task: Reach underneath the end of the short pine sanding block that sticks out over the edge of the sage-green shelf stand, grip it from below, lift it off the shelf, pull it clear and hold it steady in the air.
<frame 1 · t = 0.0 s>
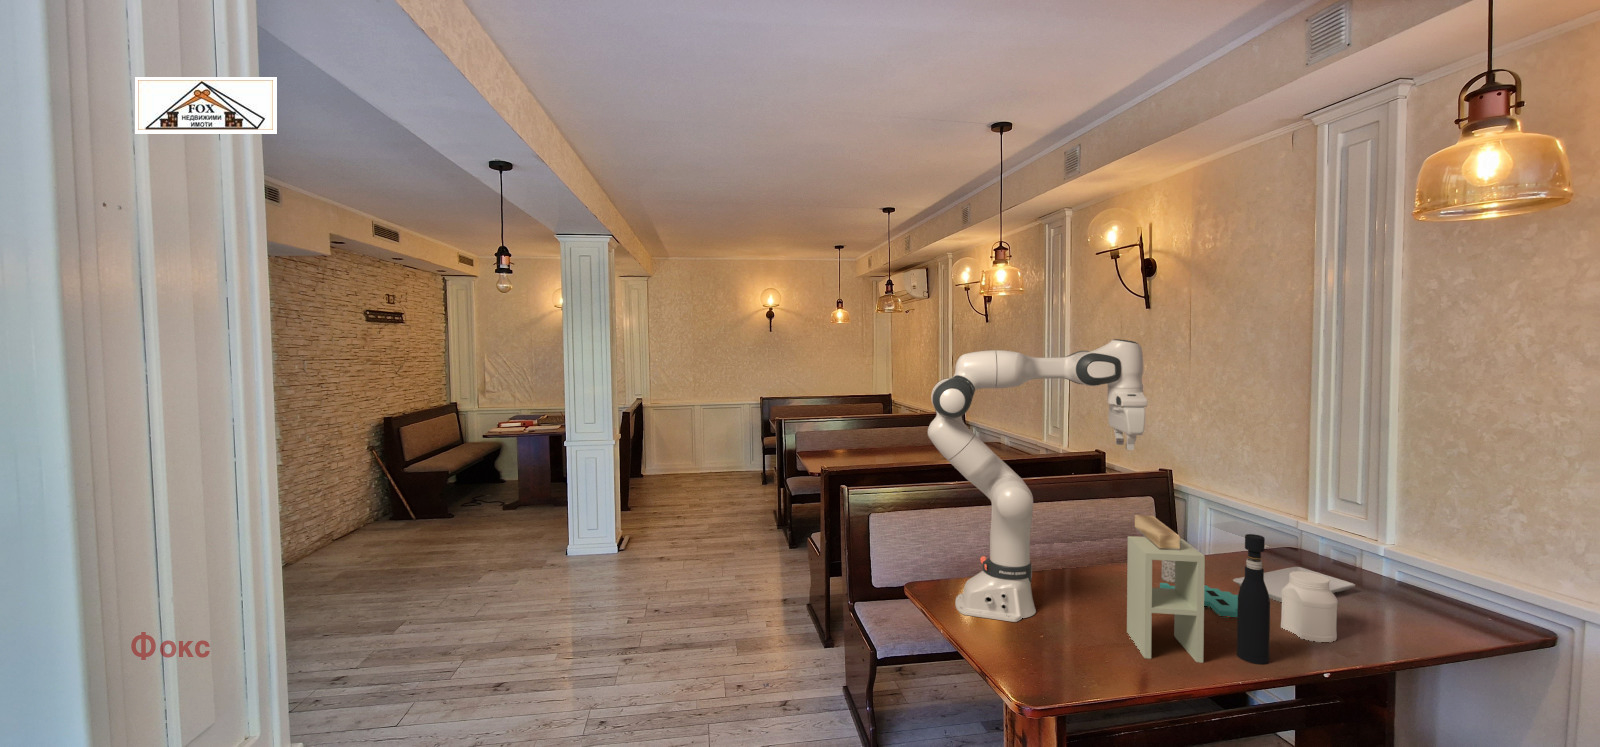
hand: (1124, 447, 177), 48 cm above the table, tool pointing down, fingers open, 8 cm apart
jar: (1308, 633, 168), on the table
wine bottle: (1252, 658, 155), on the table
alien figure: (1208, 605, 188), on the table
tray: (1293, 592, 196), on the table
grey speckled cup: (1172, 578, 208), on the table
sanding block: (1155, 538, 166), point 26 cm above the table, touching shelf stand
shelf stand: (1163, 647, 161), on the table
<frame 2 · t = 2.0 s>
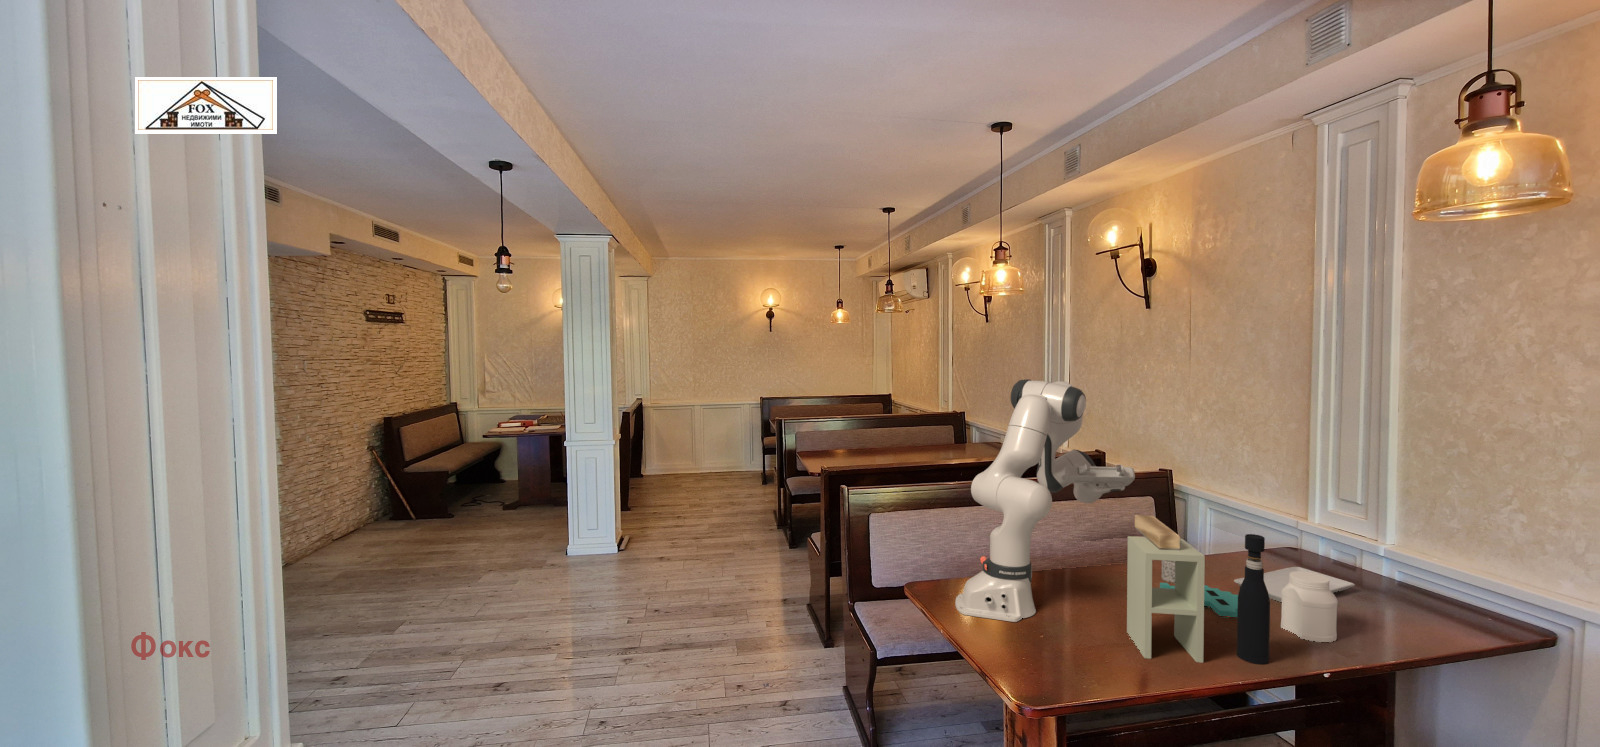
hand: (1103, 466, 196), 39 cm above the table, tool pointing upward, fingers open, 8 cm apart
nothing on the table moved.
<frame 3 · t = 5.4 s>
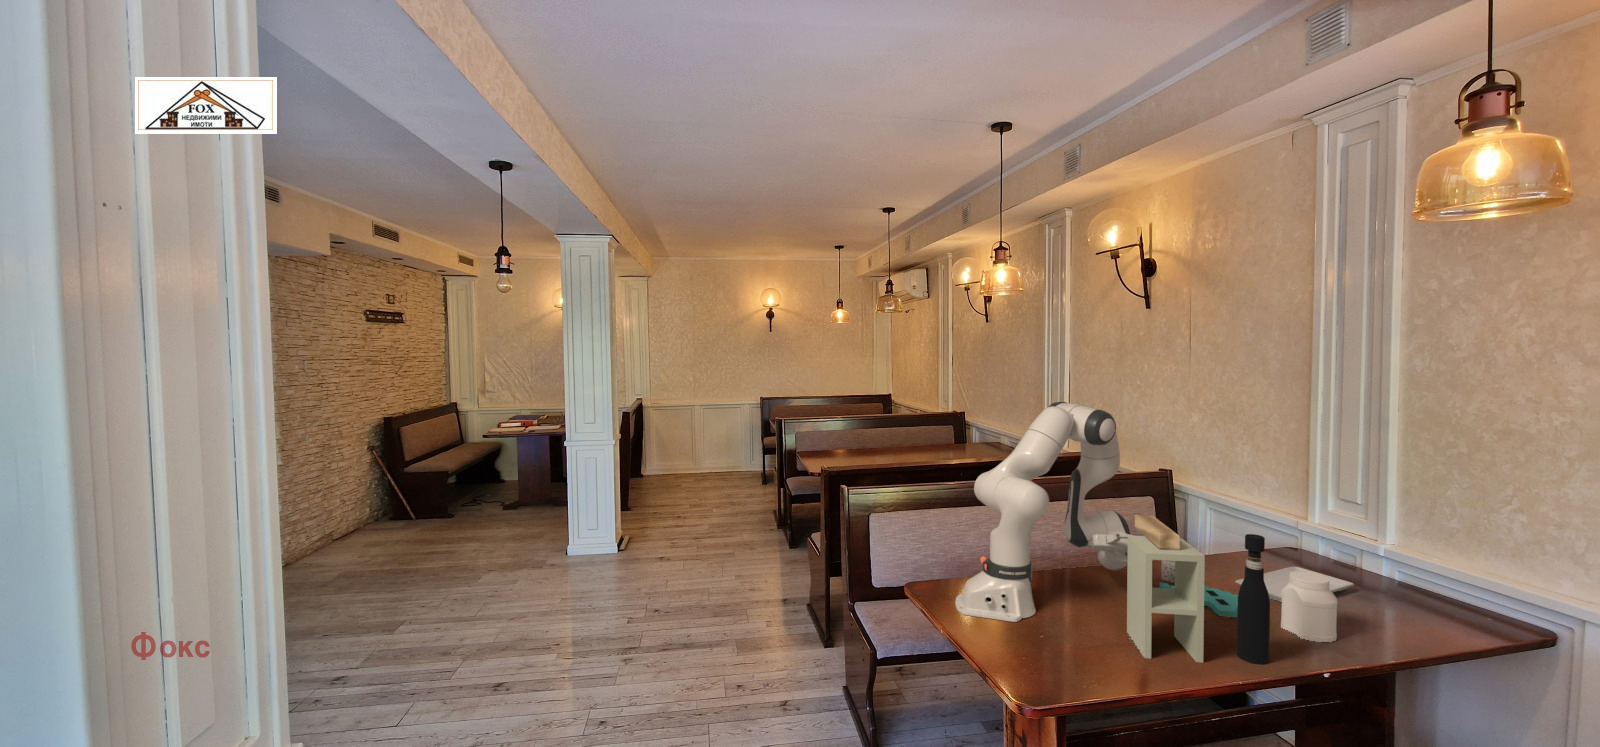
hand: (1135, 537, 182), 21 cm above the table, tool pointing upward, fingers open, 8 cm apart
nothing on the table moved.
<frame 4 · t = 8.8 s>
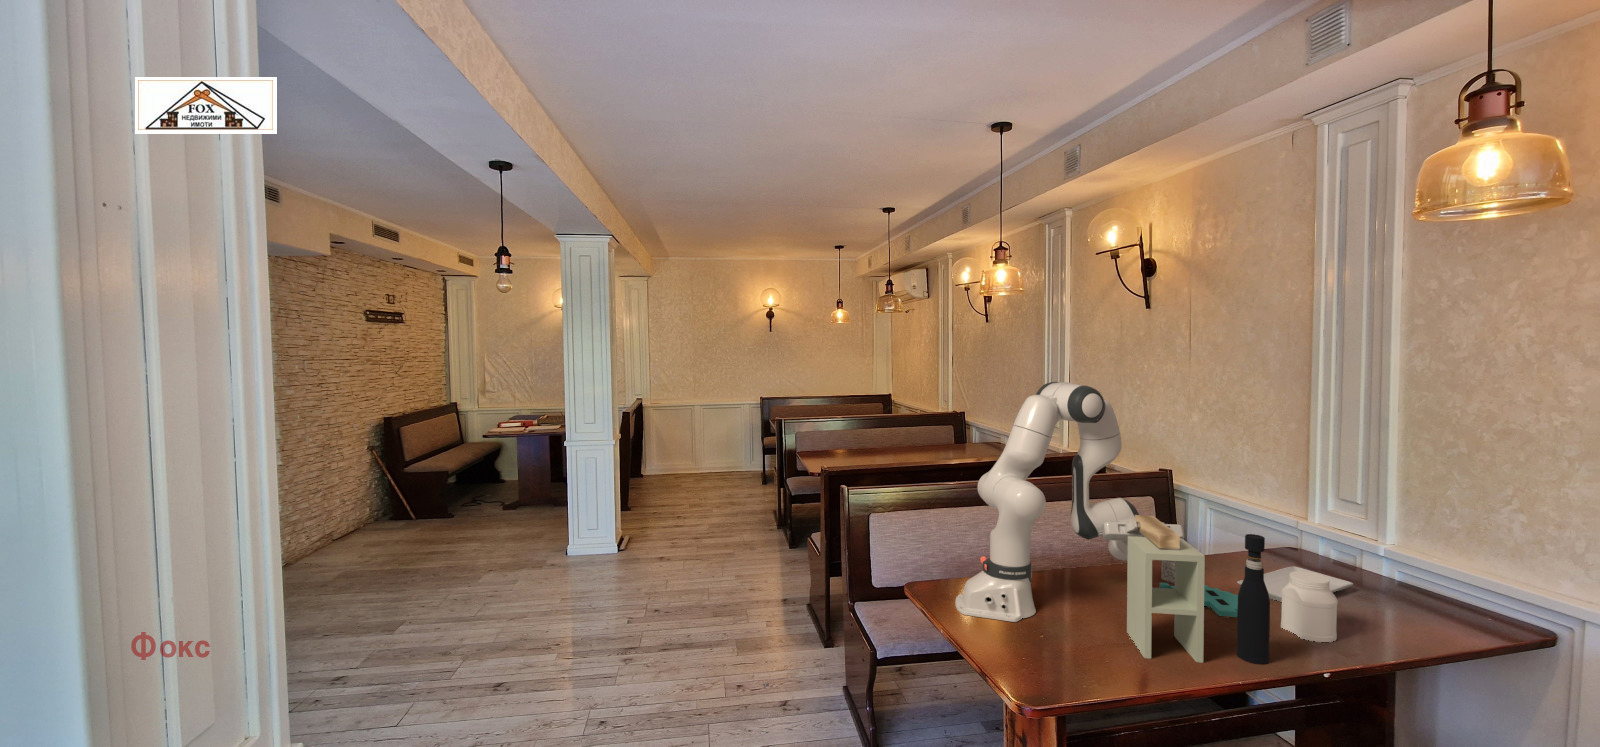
hand: (1149, 524, 170), 28 cm above the table, tool pointing upward, fingers closed on sanding block, 4 cm apart
sanding block: (1155, 538, 166), point 26 cm above the table, touching gripper, shelf stand
everything else where it was.
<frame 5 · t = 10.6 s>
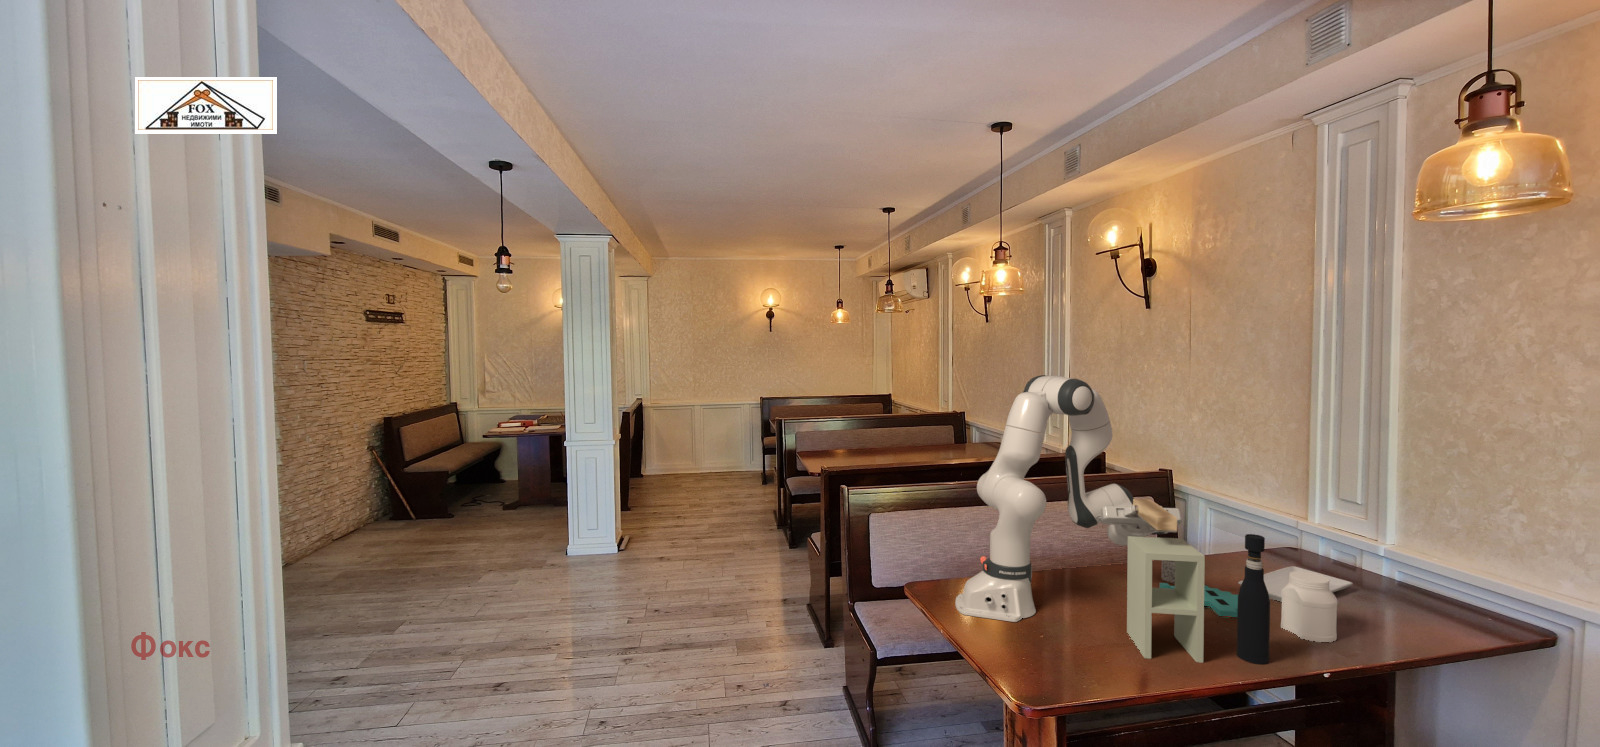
hand: (1147, 508, 172), 32 cm above the table, tool pointing upward, fingers closed on sanding block, 4 cm apart
sanding block: (1153, 521, 167), point 30 cm above the table, touching gripper
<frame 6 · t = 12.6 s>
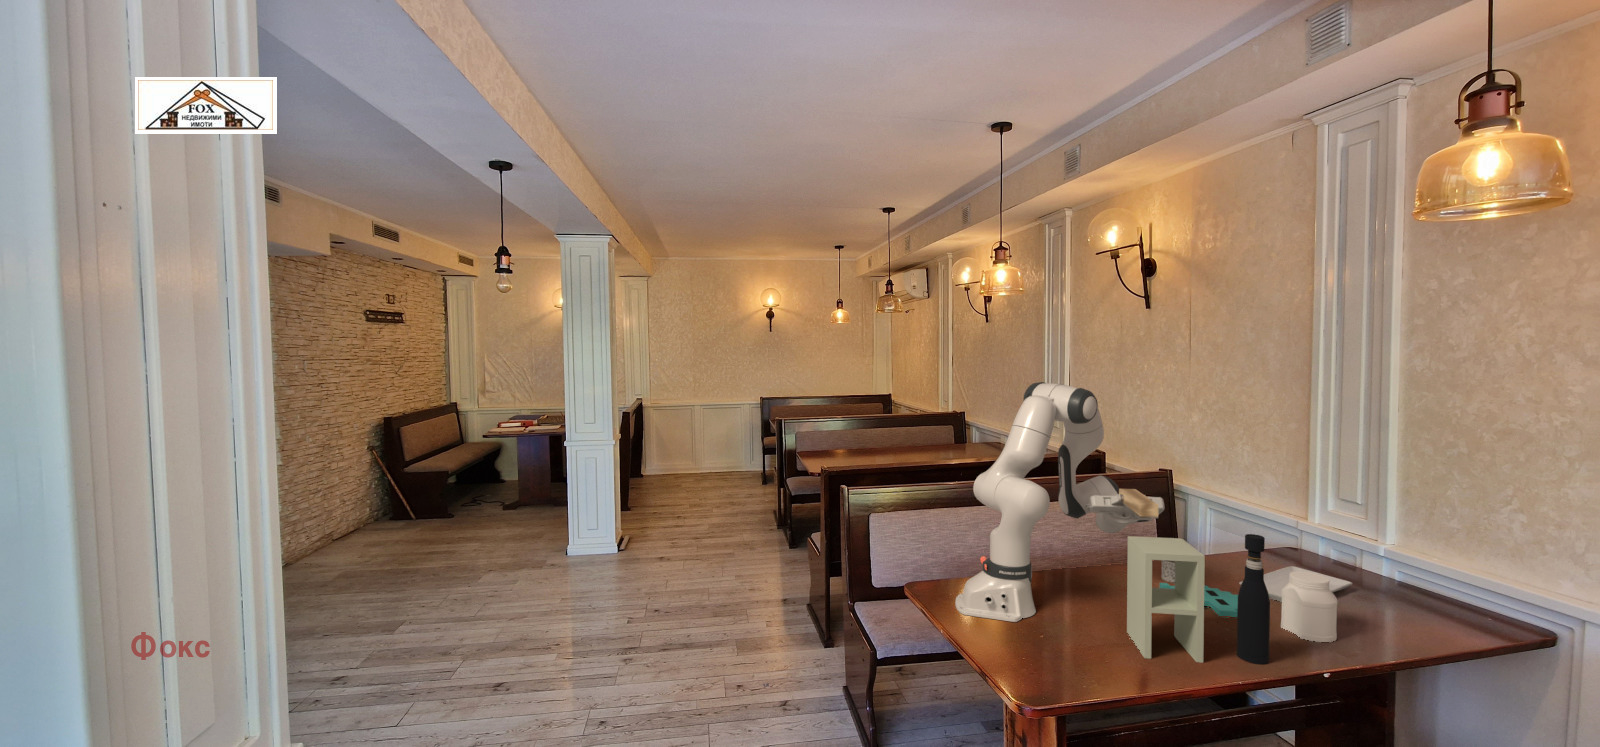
hand: (1132, 497, 185), 32 cm above the table, tool pointing upward, fingers closed on sanding block, 4 cm apart
sanding block: (1137, 509, 180), point 30 cm above the table, touching gripper
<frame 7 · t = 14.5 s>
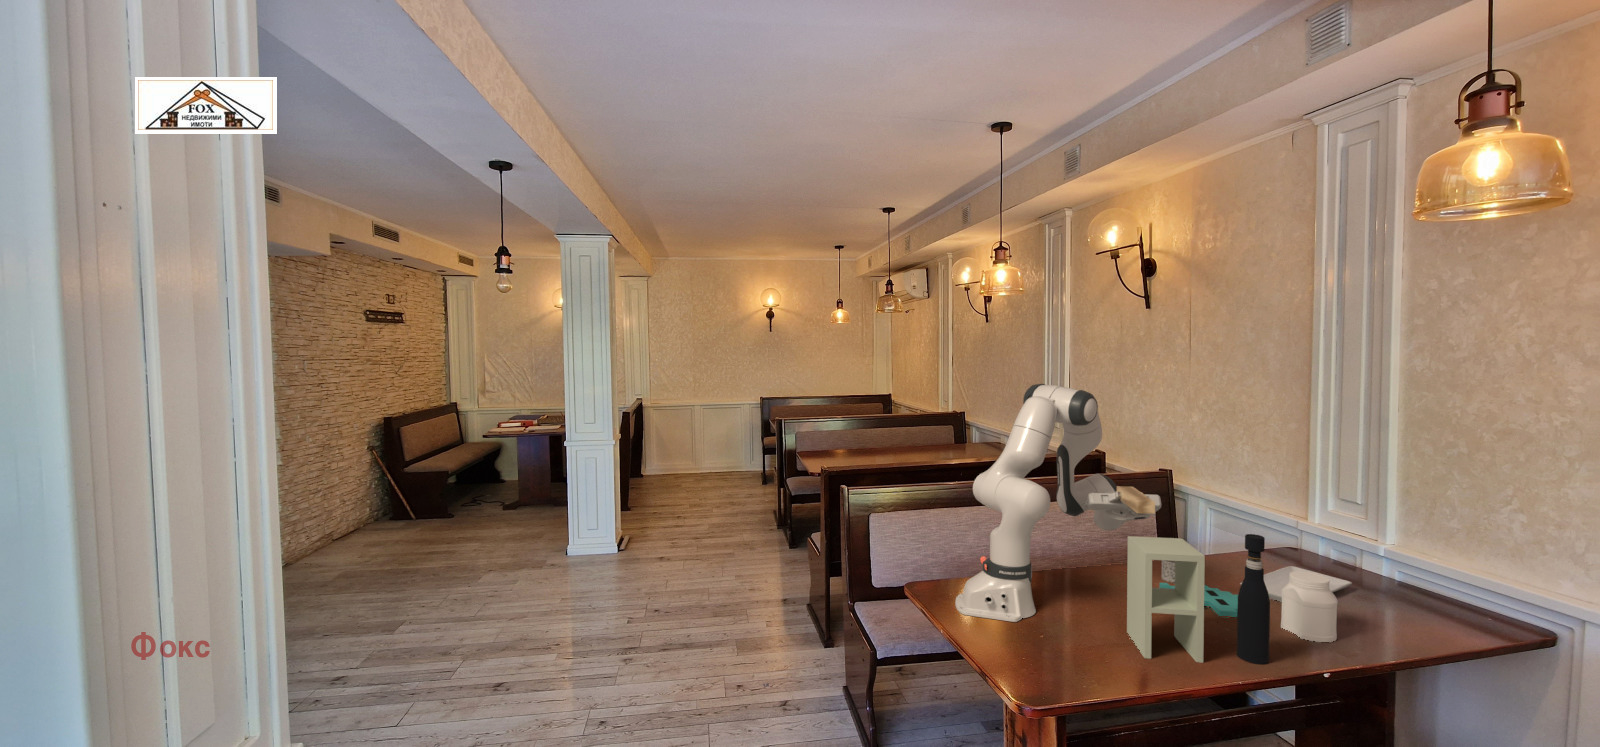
hand: (1129, 494, 187), 32 cm above the table, tool pointing upward, fingers closed on sanding block, 4 cm apart
sanding block: (1134, 506, 183), point 30 cm above the table, touching gripper
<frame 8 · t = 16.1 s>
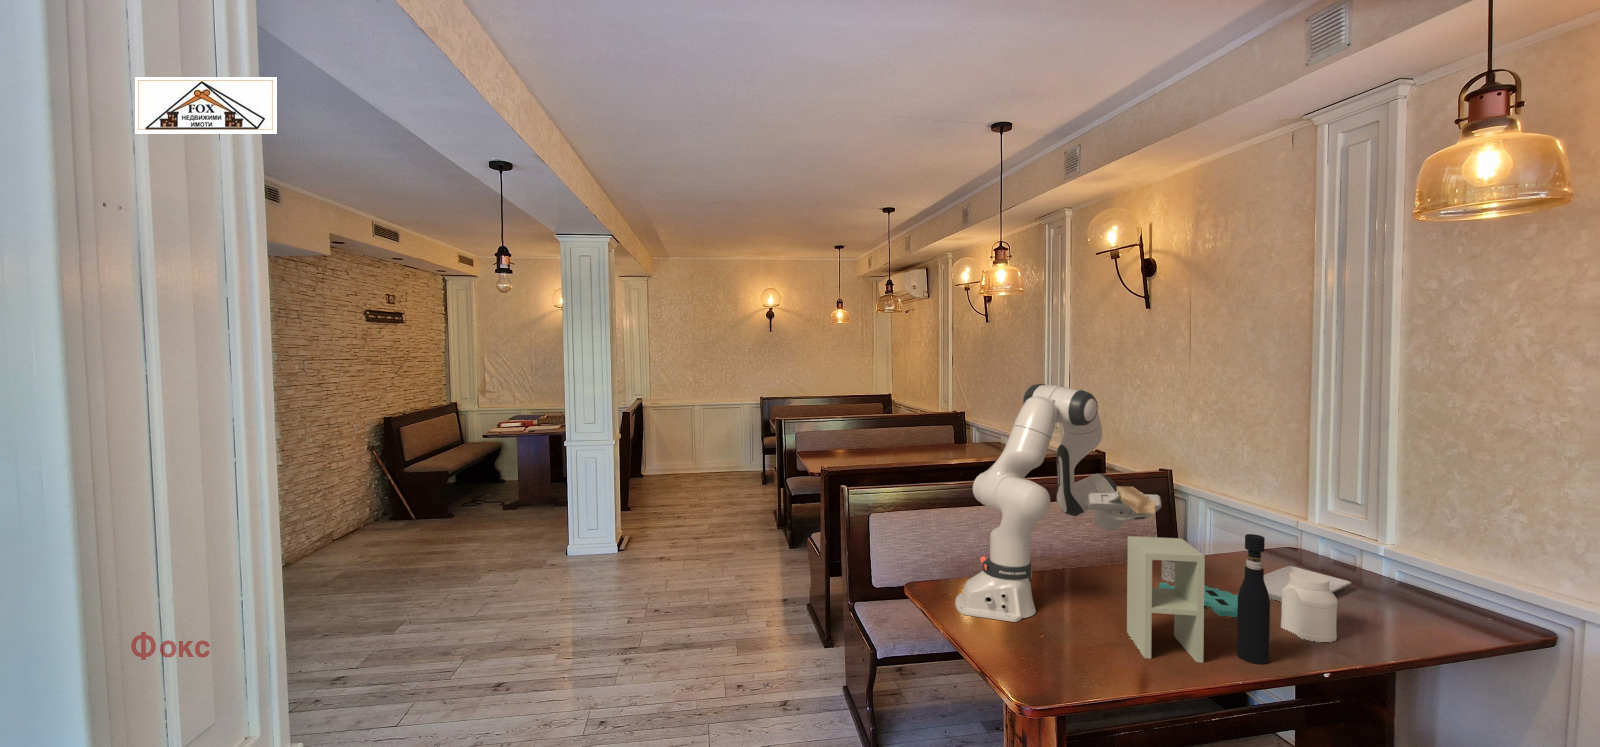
hand: (1129, 494, 187), 32 cm above the table, tool pointing upward, fingers closed on sanding block, 4 cm apart
sanding block: (1134, 506, 183), point 30 cm above the table, touching gripper
at the end: the gripper is holding sanding block; sanding block touching gripper; sanding block inside the target area (2.0 cm from its centre), point 30.1 cm above the table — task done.
